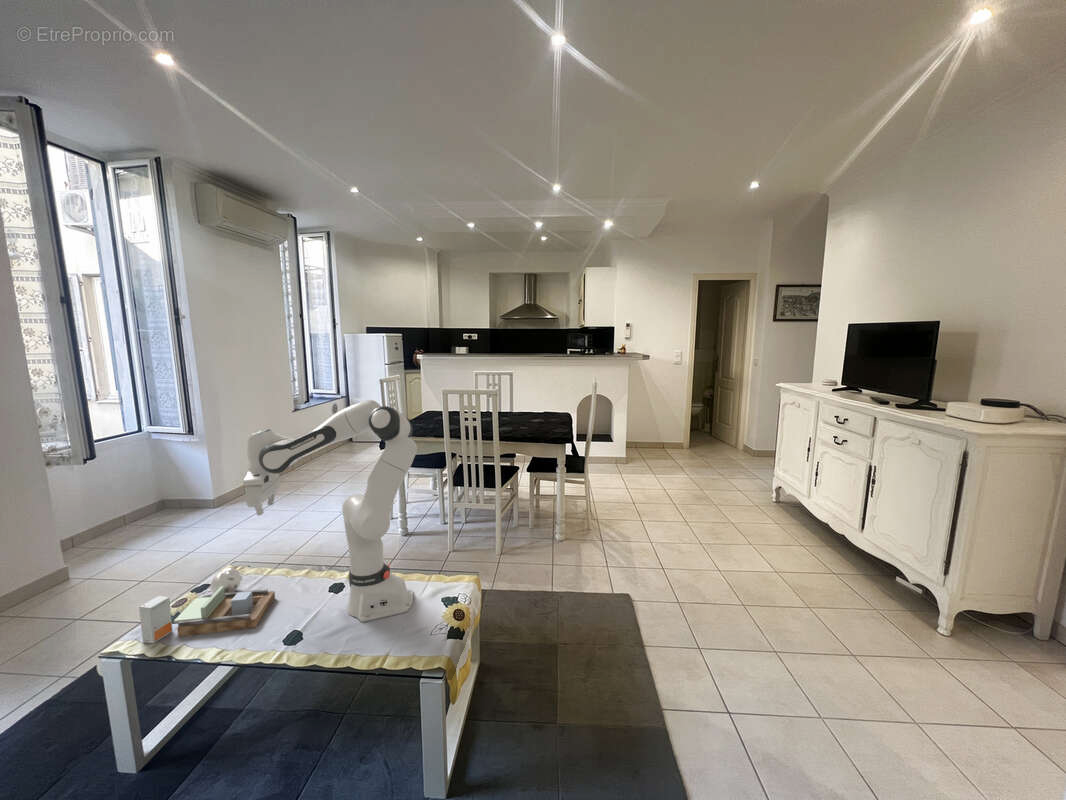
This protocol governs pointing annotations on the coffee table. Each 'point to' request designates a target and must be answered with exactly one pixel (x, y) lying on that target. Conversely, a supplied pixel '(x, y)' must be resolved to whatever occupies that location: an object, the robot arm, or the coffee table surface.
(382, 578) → the robot arm
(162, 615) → the skincare box
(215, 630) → the wooden box frame
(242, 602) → the block
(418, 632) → the coffee table surface
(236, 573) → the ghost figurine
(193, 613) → the lid
